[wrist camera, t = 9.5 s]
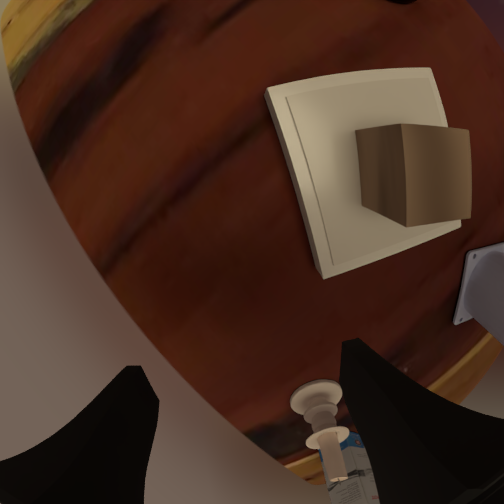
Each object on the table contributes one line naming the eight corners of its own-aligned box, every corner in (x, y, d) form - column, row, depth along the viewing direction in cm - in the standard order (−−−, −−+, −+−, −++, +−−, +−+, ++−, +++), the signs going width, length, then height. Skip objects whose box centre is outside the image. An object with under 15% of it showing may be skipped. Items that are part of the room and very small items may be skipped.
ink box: (315, 447, 28) (332, 522, 17) (345, 428, 27) (370, 507, 15) (352, 455, 30) (372, 517, 19) (379, 438, 29) (404, 501, 18)
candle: (311, 416, 25) (331, 498, 15) (278, 400, 24) (293, 493, 14) (350, 390, 24) (383, 473, 14) (320, 370, 23) (352, 467, 13)
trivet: (415, 73, 14) (432, 67, 12) (445, 220, 18) (463, 227, 16) (264, 95, 15) (267, 86, 13) (315, 267, 19) (324, 281, 17)
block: (415, 131, 14) (468, 130, 9) (420, 199, 15) (470, 218, 11) (354, 130, 14) (400, 123, 9) (361, 205, 15) (406, 227, 11)
